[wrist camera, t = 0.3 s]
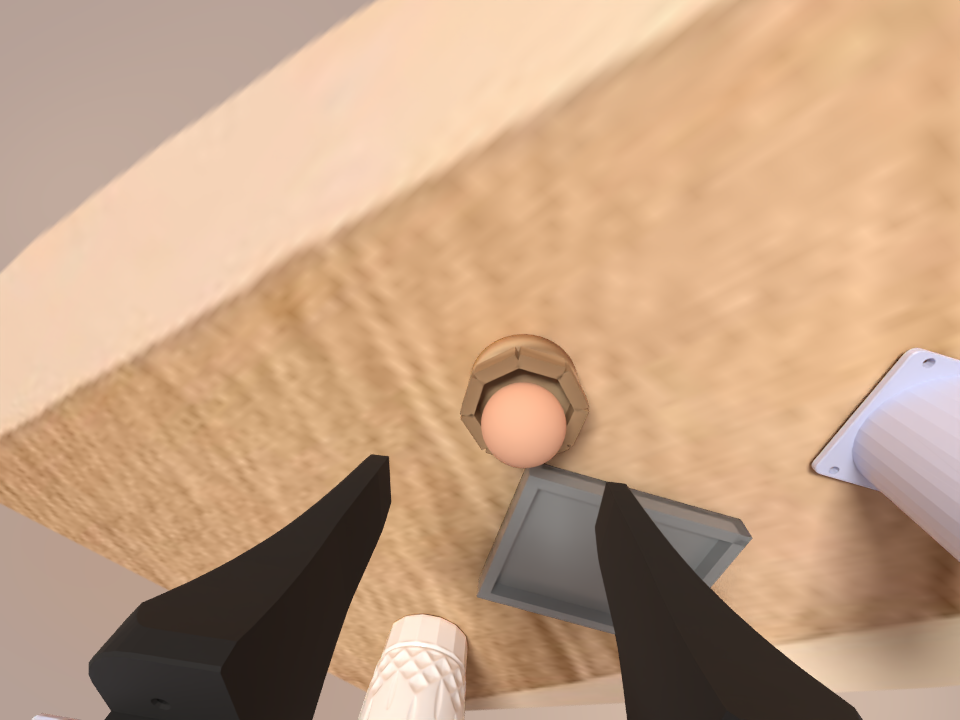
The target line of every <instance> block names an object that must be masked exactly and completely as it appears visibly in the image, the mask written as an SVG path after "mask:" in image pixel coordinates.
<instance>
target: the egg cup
mask: <svg viewBox="0 0 960 720" xmlns="http://www.w3.org/2000/svg"><path fill="white" fill-rule="evenodd" d="M519 382H527V383H533V384H536V385H539V386H541V387H543V388H545V389H547V390H548V391H550V392H551V393H552V394H553V395H554V396H555V397H556V398H557V400H558V401H559V403H560V404H561V406H562V408H563V410H564V414H565V417H566V434H565V439H564V441H563V444H562V446H561V448H560V449H559V451H558V452H557V453H556V454H558V453H561V452H563V451H566V450H569V446H568V445H570V446H573V445H574V443H575V440H576V438H577V436H578V434H579V432H580V430H581V428H582V426H583V424H584V422H585V419H586V417H587V415H588V413H589V409H588V407H589V405H588V401H587V398H586V395H585V393H584V391H583V390H582V388H581V386H580V384H579V380H578V377H577V373H576V369H575V366H574V364H573V362H572V360H571V359H570V357H569V356H568V354H567V353H566V352H565V351H564V350H563V349H562V348H561V347H560V346H558V345H557V344H555V343H554V342H552V341H550V340H548V339H545V338H543V337H539V336H535V335H527V334H522V335H512V336H508V337H504V338H502V339H499V340H497V341H495V342H494V343H492V344H491V345H489V346H488V347H487V348H485V349H484V350H483V351H482V352H481V354H480V355H479V356H478V358H477V359H476V361H475V363H474V365H473V368H472V371H471V375H470V379H469V383H468V387H467V390H466V394H465V397H464V400H463V404H462V408H461V411H460V414H461V420H462V421H463V423H464V424H465V426H466V427H467V429H468V430H469V432H470V433H471V435H472V436H473V438H474V439H475V441H476V442H477V444H478V445H479V447H480V448H481V450H483V449H486V453H489V454H492V453H491V451H490V450H489V449H488V447H487V445H486V443H485V441H484V439H483V435H482V430H481V419H482V414H483V410H484V408H485V406H486V404H487V402H488V401H489V399H490V398H491V397H492V395H494V394H495V393H496V392H497V391H498V390H500V389H501V388H503V387H505V386H507V385H510V384H513V383H519ZM492 455H493V454H492Z"/></svg>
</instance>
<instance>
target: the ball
mask: <svg viewBox="0 0 960 720" xmlns="http://www.w3.org/2000/svg"><path fill="white" fill-rule="evenodd" d="M481 430H482V435H483V439H484V441H485V443H486V445H487V447H488V449H489V450H490V451H491V453H492V454H493V455H494V456H495V457H496V458H497V459H499V460H500V461H502V462H503V463H505V464H507V465H510V466H513V467H517V468H532V467H536V466H539V465H542V464H544V463H545V462H547V461H549V460H550V459H551V458H552V457H553V456H554V455H555V454H556V453H557V452H558V451H559V449H560V448H561V446H562V444H563V441H564V439H565V434H566V417H565V414H564V410H563V408H562V406H561V404H560V403H559V401H558V400H557V398H556V397H555V396H554V395H553V394H552V393H551V392H550V391H548V390H547V389H545V388H543V387H541V386H539V385H536V384H533V383H527V382H519V383H513V384H510V385H507V386H505V387H503V388H501V389H500V390H498V391H497V392H496V393H495V394H494V395H492V397H491V398H490V399H489V401H488V402H487V404H486V406H485V408H484V410H483V414H482V419H481Z"/></svg>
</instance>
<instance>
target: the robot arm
mask: <svg viewBox="0 0 960 720" xmlns="http://www.w3.org/2000/svg"><path fill="white" fill-rule="evenodd" d="M926 359H927V361H926V362H925V363H923V362H924V361H925V360H926ZM832 467H833V468H832ZM812 468H813V469H814V470H815V471H816V472H817V473H819V474H821V475H825V476H828V477H832V478H835V479H839V480H842V481H846V482H849V483H853V484H856V485H860V486H863V487H866V488H870V489H873V490H877V491H880V492H882V493H883V494H884V495H885V496H886V497H887V498H889V499H890V500H891V501H892V502H893V503H894V504H895V505H896V506H897V507H899V508H900V509H901V510H902V511H903V512H904V513H905V514H906V515H908V516H909V517H910V518H911V519H912V520H913V521H914V522H915V523H917V524H918V525H919V526H920V527H921V528H922V529H923V530H924V531H925V532H927V533H928V534H929V535H930V536H931V537H932V538H933V539H934V540H936V541H937V542H938V543H939V544H940V545H941V546H942V547H943V548H945V549H946V550H947V551H948V552H949V553H950V554H951V555H952V556H953V557H955V558H956V559H957V560H958V561H959V562H960V360H958V359H955V358H951V357H948V356H945V355H941V354H938V353H935V352H931V351H928V350H925V349H921V348H913V349H910V350H908V351H907V352H905V353H904V354H903V355H902V357H901V358H900V359H899V360H898V361H897V362H896V364H895V365H894V366H893V367H892V368H891V370H890V371H889V372H888V373H887V374H886V376H885V377H884V378H883V379H882V380H881V381H880V383H879V384H878V385H877V386H876V387H875V389H874V390H873V391H872V392H871V393H870V395H869V396H868V397H867V398H866V399H865V400H864V402H863V403H862V404H861V405H860V406H859V408H858V409H857V410H856V411H855V412H854V414H853V415H852V416H851V417H850V418H849V419H848V421H847V422H846V423H845V424H844V425H843V427H842V428H841V429H840V430H839V431H838V433H837V434H836V435H835V436H834V437H833V438H832V440H831V441H830V442H829V443H828V444H827V446H826V447H825V448H824V449H823V450H822V452H821V453H820V454H819V455H818V456H817V457H816V459H815V460H814V461H813V463H812ZM830 468H831V469H830ZM390 504H391V488H390V469H389V456H381V455H372V454H371V455H370V456H368V457H367V458H366V459H365V460H364V461H363V462H362V463H361V464H360V465H359V466H358V467H357V468H356V469H354V470H353V471H352V472H351V473H350V474H349V475H348V476H347V477H346V478H345V479H344V480H343V481H341V482H340V483H339V484H338V485H337V486H336V487H335V488H333V489H332V490H331V491H330V492H329V493H328V494H327V495H325V496H324V497H323V498H322V499H321V500H319V501H318V502H317V503H316V504H314V505H313V506H312V507H311V508H309V509H308V510H307V511H306V512H304V513H303V514H302V515H301V516H299V517H298V518H297V519H295V520H294V521H293V522H291V523H290V524H288V525H287V526H286V527H284V528H283V529H281V530H280V531H278V532H277V533H275V534H274V535H273V536H271V537H269V538H268V539H266V540H265V541H263V542H261V543H260V544H258V545H256V546H255V547H253V548H251V549H250V550H248V551H246V552H245V553H243V554H241V555H240V556H238V557H236V558H235V559H233V560H231V561H229V562H227V563H225V564H223V565H222V566H220V567H218V568H216V569H214V570H212V571H210V572H208V573H206V574H204V575H202V576H200V577H198V578H196V579H194V580H192V581H190V582H188V583H186V584H183V585H181V586H179V587H177V588H174V589H172V590H170V591H168V592H166V593H163V594H161V595H159V596H156V597H154V598H152V599H150V600H147V601H145V602H143V603H141V604H140V606H138V607H137V609H136V610H135V611H134V612H133V613H132V614H131V615H130V616H129V617H128V618H127V619H126V620H125V621H124V622H123V624H122V625H121V626H120V627H119V628H118V629H117V630H116V632H115V633H114V634H113V635H112V636H111V637H110V638H109V640H108V641H107V642H106V643H105V644H104V645H103V646H102V647H101V649H100V650H99V651H98V652H97V653H96V654H95V655H94V656H93V658H92V659H91V660H90V662H89V676H90V679H91V681H92V683H93V684H94V686H95V687H96V689H97V690H98V692H99V693H100V695H101V696H102V698H103V699H104V701H105V702H106V704H107V705H108V707H109V708H110V710H111V712H110V713H109V715H108V716H107V717H106V719H105V720H312V719H313V715H314V713H315V709H316V706H317V702H318V699H319V696H320V693H321V690H322V687H323V683H324V680H325V676H326V674H327V671H328V668H329V665H330V661H331V658H332V655H333V652H334V649H335V646H336V643H337V640H338V637H339V634H340V631H341V628H342V625H343V623H344V620H345V617H346V614H347V611H348V608H349V606H350V603H351V601H352V598H353V596H354V594H355V591H356V589H357V587H358V585H359V582H360V580H361V578H362V576H363V573H364V571H365V569H366V567H367V565H368V562H369V560H370V558H371V556H372V553H373V551H374V549H375V547H376V544H377V542H378V540H379V537H380V535H381V533H382V530H383V527H384V524H385V521H386V518H387V514H388V511H389V508H390ZM595 535H596V545H597V554H598V561H599V565H600V570H601V574H602V579H603V583H604V588H605V592H606V596H607V601H608V605H609V609H610V614H611V618H612V622H613V627H614V631H615V636H616V641H617V646H618V652H619V660H620V667H621V674H622V681H623V689H624V697H625V705H626V713H627V720H862V718H861V716H860V715H859V714H858V712H857V711H856V709H855V708H854V707H853V706H851V705H850V704H849V703H847V702H846V701H845V700H843V699H842V698H841V697H839V696H838V695H836V694H835V693H834V692H832V691H831V690H830V689H828V688H827V687H826V686H824V685H823V684H822V683H820V682H819V681H818V680H816V679H815V678H813V677H812V676H811V675H809V674H808V673H807V672H805V671H804V670H803V669H801V668H800V667H799V666H798V665H796V664H795V663H794V662H793V661H791V660H790V659H789V658H788V657H786V656H785V655H784V654H783V653H781V652H780V651H779V650H778V649H776V648H775V647H774V646H773V645H772V644H770V643H769V642H768V641H767V640H766V639H765V638H763V637H762V636H761V635H760V634H759V633H758V632H756V631H755V630H754V629H753V628H752V627H751V626H750V625H749V624H747V623H746V622H745V621H744V620H743V619H742V618H741V617H740V616H739V615H737V614H736V613H735V612H734V611H733V610H732V609H731V608H730V607H729V606H728V605H727V604H726V603H725V602H724V601H723V600H722V599H721V598H720V597H719V596H718V595H717V594H716V593H715V592H714V591H713V590H712V589H711V588H710V587H709V586H708V585H707V584H706V583H705V582H704V581H703V580H702V579H701V578H700V577H699V576H698V575H697V574H696V573H695V572H694V571H693V569H692V568H691V567H690V566H689V565H688V564H687V563H686V561H685V560H684V559H683V558H682V557H681V556H680V555H679V553H678V552H677V551H676V550H675V548H674V547H673V546H672V545H671V544H670V542H669V541H668V540H667V539H666V537H665V536H664V535H663V533H662V532H661V531H660V530H659V528H658V527H657V526H656V525H655V523H654V522H653V521H652V519H651V518H650V517H649V515H648V514H647V512H646V511H645V510H644V508H643V507H642V506H641V504H640V503H639V501H638V500H637V499H636V497H635V496H634V494H633V493H632V492H631V490H630V489H629V488H628V486H627V485H626V484H623V483H614V482H606V485H605V489H604V493H603V497H602V501H601V505H600V508H599V512H598V516H597V520H596V524H595ZM32 720H78V719H73V718H67V717H61V716H55V715H50V714H44V713H41V714H38V715H36V716H35V717H34V718H33V719H32Z"/></svg>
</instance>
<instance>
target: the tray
mask: <svg viewBox="0 0 960 720" xmlns="http://www.w3.org/2000/svg"><path fill="white" fill-rule="evenodd" d="M605 485H606V481H602V480H599V479H595V478H592V477H588V476H585V475H581V474H577V473H574V472H570V471H567V470H563V469H560V468H556V467H553V466H549V465H546V464H542V465H539V466H536V467H532V468H525V470H524V473H523V475H522V478H521V480H520V482H519V485H518V487H517V489H516V492H515V494H514V497H513V499H512V501H511V504H510V506H509V508H508V511H507V513H506V515H505V518H504V520H503V523H502V525H501V527H500V530H499V532H498V534H497V537H496V539H495V542H494V544H493V546H492V549H491V551H490V553H489V556H488V558H487V561H486V563H485V565H484V568H483V570H482V572H481V575H480V577H479V581H478V590H477V597H478V598H482V599H486V600H489V601H493V602H497V603H500V604H504V605H508V606H512V607H515V608H519V609H523V610H526V611H530V612H534V613H537V614H541V615H545V616H549V617H552V618H556V619H560V620H563V621H567V622H571V623H574V624H578V625H582V626H585V627H589V628H593V629H597V630H600V631H604V632H608V633H611V634H615V631H614V627H613V622H612V618H611V614H610V609H609V605H608V601H607V596H606V592H605V588H604V583H603V579H602V574H601V570H600V565H599V561H598V554H597V545H596V535H595V524H596V520H597V516H598V512H599V508H600V505H601V501H602V497H603V493H604V489H605ZM629 489H630V490H631V492H632V493H633V494H634V496H635V497H636V499H637V500H638V501H639V503H640V504H641V506H642V507H643V508H644V510H645V511H646V512H647V514H648V515H649V517H650V518H651V519H652V521H653V522H654V523H655V525H656V526H657V527H658V528H659V530H660V531H661V532H662V533H663V535H664V536H665V537H666V539H667V540H668V541H669V542H670V544H671V545H672V546H673V547H674V548H675V550H676V551H677V552H678V553H679V555H680V556H681V557H682V558H683V559H684V560H685V561H686V563H687V564H688V565H689V566H690V567H691V568H692V569H693V571H694V572H695V573H696V574H697V575H698V576H699V577H700V578H701V579H702V580H703V581H704V582H705V583H706V584H707V585H708V586H709V587H710V588H711V586H712V585H713V584H714V583H715V582H716V581H717V579H718V578H719V577H720V576H721V575H722V573H723V572H724V571H725V570H726V569H727V568H728V566H729V565H730V564H731V563H732V562H733V560H734V559H735V558H736V557H737V556H738V555H739V553H740V552H741V551H742V550H743V549H744V548H745V546H746V545H747V544H748V543H749V542H750V540H751V539H752V537H751V535H750V533H749V532H748V530H747V529H746V527H745V525H744V524H743V522H742V521H741V520H740V519H737V518H733V517H730V516H726V515H723V514H719V513H716V512H712V511H708V510H705V509H701V508H698V507H694V506H691V505H687V504H684V503H680V502H677V501H673V500H670V499H666V498H662V497H659V496H655V495H652V494H648V493H645V492H641V491H638V490H634V489H631V488H629Z"/></svg>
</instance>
